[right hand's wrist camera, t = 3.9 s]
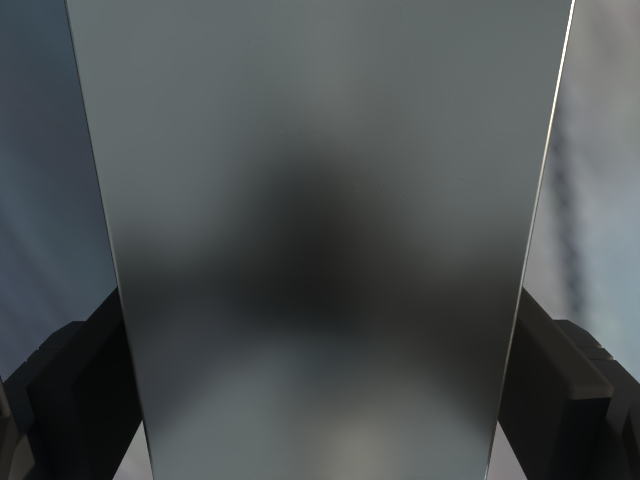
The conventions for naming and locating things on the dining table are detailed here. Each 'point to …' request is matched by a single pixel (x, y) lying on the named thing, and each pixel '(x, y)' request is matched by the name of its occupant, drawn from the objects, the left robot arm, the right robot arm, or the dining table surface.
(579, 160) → the dining table surface
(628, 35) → the dining table surface
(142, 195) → the bar
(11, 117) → the dining table surface
